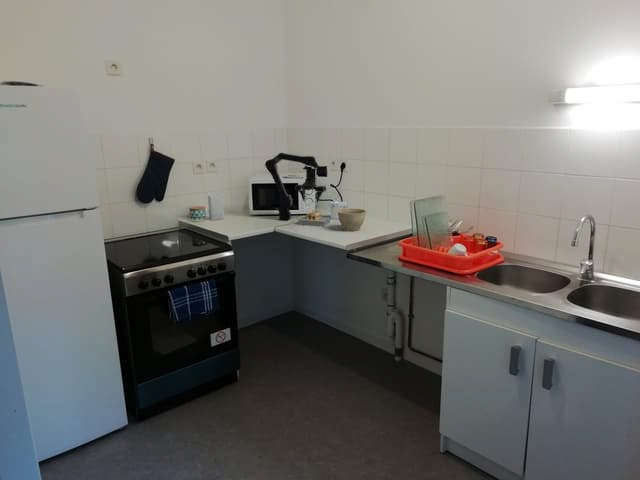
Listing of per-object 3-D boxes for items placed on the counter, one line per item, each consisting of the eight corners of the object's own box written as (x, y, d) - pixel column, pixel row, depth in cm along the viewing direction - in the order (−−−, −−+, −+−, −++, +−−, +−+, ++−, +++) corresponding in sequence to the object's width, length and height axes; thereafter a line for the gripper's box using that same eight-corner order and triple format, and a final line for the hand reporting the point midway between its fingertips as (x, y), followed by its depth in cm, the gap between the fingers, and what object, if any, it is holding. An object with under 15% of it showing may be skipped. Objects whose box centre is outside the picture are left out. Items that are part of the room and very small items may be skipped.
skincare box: (221, 217, 322) (220, 193, 318) (224, 219, 316) (223, 195, 313) (208, 218, 318) (207, 194, 314) (211, 220, 313) (210, 196, 309)
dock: (298, 224, 300) (298, 219, 299) (305, 220, 312) (305, 215, 311) (323, 226, 295) (323, 220, 294) (330, 222, 307) (330, 216, 306)
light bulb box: (347, 217, 321) (347, 201, 318) (347, 219, 314) (347, 203, 311) (331, 217, 322) (331, 201, 319) (330, 219, 315) (330, 202, 312)
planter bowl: (345, 225, 298) (345, 207, 295) (370, 228, 290) (370, 210, 287) (332, 230, 284) (332, 211, 282) (357, 233, 276) (358, 214, 274)
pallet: (306, 219, 299) (306, 213, 298) (312, 216, 308) (312, 210, 307) (316, 220, 297) (316, 213, 296) (321, 217, 306) (321, 211, 305)
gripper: (291, 177, 303) (291, 202, 307) (320, 179, 296) (319, 204, 300) (299, 175, 313) (299, 199, 317) (326, 177, 306) (326, 201, 310)
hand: (310, 201), depth 310 cm, fingers open, 9 cm apart
